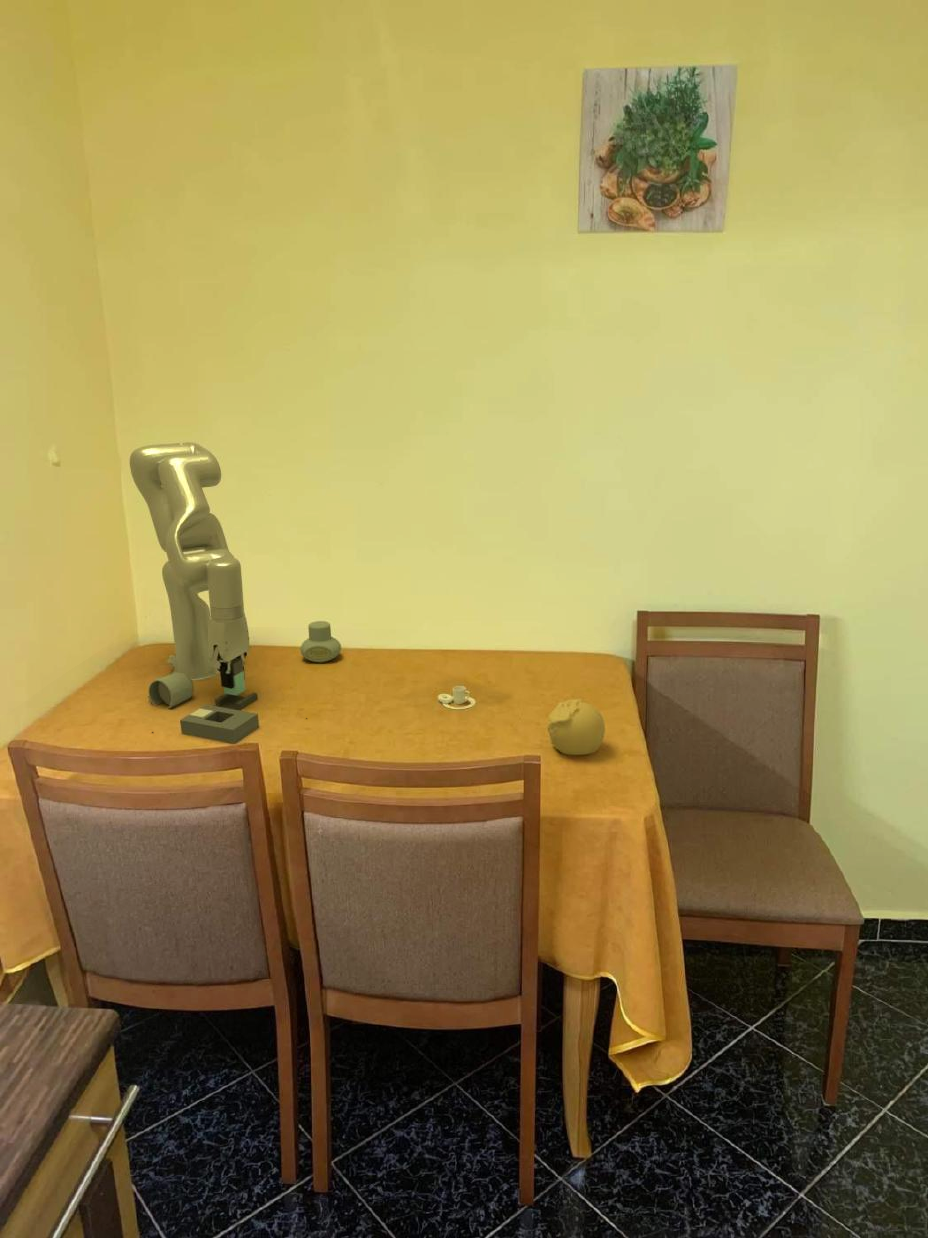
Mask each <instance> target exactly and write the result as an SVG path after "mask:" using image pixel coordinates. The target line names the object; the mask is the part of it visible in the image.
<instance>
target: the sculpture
mask: <svg viewBox="0 0 928 1238" xmlns="http://www.w3.org/2000/svg"><path fill="white" fill-rule="evenodd" d="M605 730H606V728H605V721H604V717H603V716H602V713H600V711H599V710H598V709H597V708H596V707H594V706H593V705H591V704H589V703H586V702H584V701H583V700H582V699H581V698H579V699H577V698H574V699H573V698H571V699H568V700H563V701H560V702H558V703H557V705H556V706H555V708H554V709H553V710H552V711H551V712H550V714H549V715H548V721H547V732H548V734H549V740H550V742H551V744H552V745H553V746H554V747H555V748H556V749H557V751H559V752H560V753H562V754H565V755H567V756H568V755H570V756H584V755H590V754H593V753H595V752H596V751H598V749H599V748H600V747H601V745H602V744H603V741H604V739H605V732H606V731H605Z"/></svg>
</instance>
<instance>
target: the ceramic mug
mask: <svg viewBox="0 0 928 1238" xmlns="http://www.w3.org/2000/svg"><path fill="white" fill-rule="evenodd" d="M193 682H194V681H192V680H191V679H190V677H189V676H188V675H186V674H184V673H174V674H172V673H171V674H169V675H165V676H162V677H158V678H156V679H154V680H152V681H151V682H150V683H149V685H148V696H147V698H148V700H149V702H150V703H152V705H153V706H154V707H157V706H158V705H160V704H162V703H165V704H166V705H168V707H167V708H166V709H167V710H169V709H172V708H173V707H176V706H178V705H180V704H182V703H183V702H187V701H188V700H189V699H191V698H192V697H193V695H194V692H195V690H194V689H195V687H194V683H193Z"/></svg>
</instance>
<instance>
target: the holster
mask: <svg viewBox="0 0 928 1238" xmlns="http://www.w3.org/2000/svg"><path fill="white" fill-rule="evenodd" d="M258 699H259V696H258V693H257V692H251V693H250V694H248V695H246V696H240V695H237V696H236V695H230V694H225V693H224V694H222V695H220V696H219V697H217V698H215V699H214V706H217V707H223V708H228V709H234V710H240V711H243V709H245V708H248V706H250V705H251V704H253V703H255V702H256V701H257V700H258ZM258 701H259V700H258Z"/></svg>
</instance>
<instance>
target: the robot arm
mask: <svg viewBox="0 0 928 1238" xmlns="http://www.w3.org/2000/svg"><path fill="white" fill-rule="evenodd" d="M129 469H130V473H131V477H132V479H133V482H134V484H135V486H136V488H137V490H138V492H140V495H141V496H142V497H143V499H144V500H145V503H146V505H147V508H148V510H149V514H150V518H151V521H152V524H153V527H154V530H155V531H154V532H155V534H156V537H157V541H158V544H159V546H160V548H161V550H163V552H165V554H166V556H167V561H166V562H165V563H164V564H163V565H162V566H163V567H162V569H161V576H162V580H163V584H164V587H165V590H166V593H167V599H168V602H169V603H168V604H169V610H170V616H171V623H172V624H171V625H172V632H173V633H172V634H173V643H174V649H175V651H174V652H175V655H174V654H170V655H169V657H168V659H167V661H166V665H167V666H173V668H174V670H173V671H172V672H171V674H174V673H184V674H186V675H188V676H189V677H190V679H191V680H192V682H199V681H205V680H209V679H212V678H214V677H216V676H218V675H220V683H221V685H220V686H221V687H223V688H224V687H225V688H230V689H232V688H234V681H233V672H231V660H232V659H234V658H240V659H242V660H243V669H244V670H245V665H246V658H247V654H248V652H249V651H250V649H251V645H250V634H249V627H248V621H247V617H246V614H245V606H244V605H245V604H244V591H243V579H242V578H243V577H242V566H241V565H242V564H241V562H240V561H239V559H238V558H235V556H234V555H233V554H232V553H231V551H230V550H229V546H228V543H227V541H226V537H225V536H226V535H225V534H224V533H225V532H224V530H223V527H222V524H221V522H220V520H219V519H218V517H217V515H215V514H213V513H211V508H210V505H209V503H208V499H207V498H206V497H207V496H206V494H205V492H204V489H203V488H210V487H212V488H213V487H216V486H218V485H219V484H220V483H221V479H222V469H221V466H220V463H219V461H218V460H217V457H216V456H215V455H214V454H213V453H212V452H211V451H210V450H208V449H207V448H205V447H203V446H202V445H200V444H199V443H196V442H190V441H189V442H177V443H176V442H175V443H162V444H151V445H145V446H141V447H138V448H136V449H134V450H133V451H132V452H131V454H130V456H129ZM194 551H195V552H194ZM198 551H199V552H198ZM188 552H190V553H188ZM206 591H208V599H209V605H208V604H207V602H206V601H205V600H204V599H202V598H201V597H200V596H199V593H204V592H206ZM223 663H226V666H224V665H223ZM245 675H246V674H245V673H244V679H245V680H246V677H245Z"/></svg>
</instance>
